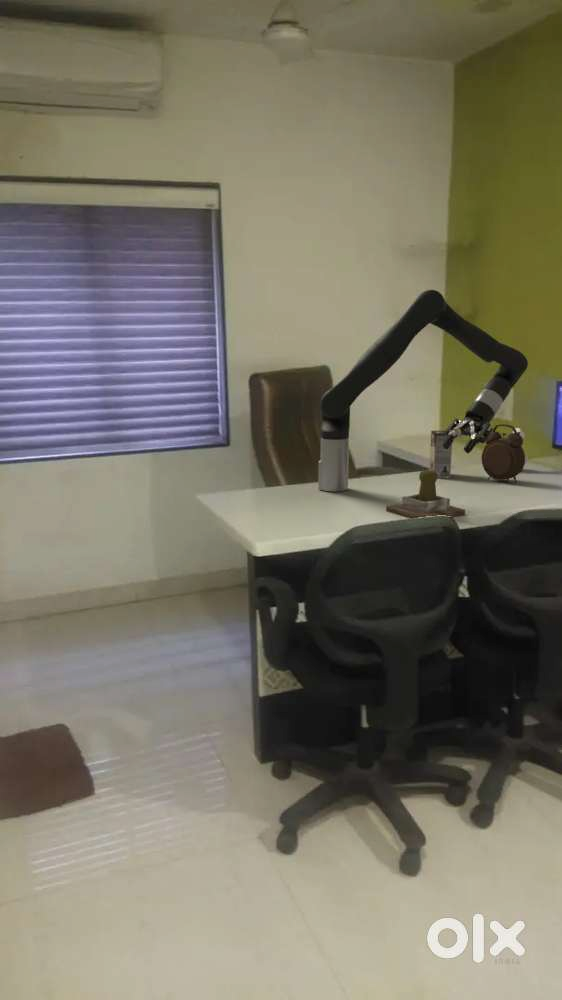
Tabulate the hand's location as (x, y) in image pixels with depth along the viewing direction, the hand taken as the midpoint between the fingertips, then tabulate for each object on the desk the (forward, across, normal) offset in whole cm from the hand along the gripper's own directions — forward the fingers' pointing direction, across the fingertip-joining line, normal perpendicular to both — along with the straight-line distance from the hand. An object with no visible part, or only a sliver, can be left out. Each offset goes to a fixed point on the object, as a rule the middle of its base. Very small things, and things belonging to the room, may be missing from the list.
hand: (455, 449), depth 224 cm
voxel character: (-32, -30, +58) cm, 73 cm away
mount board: (+20, 0, +5) cm, 21 cm away
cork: (+19, 0, +4) cm, 19 cm away
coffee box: (-11, -38, +36) cm, 54 cm away
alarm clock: (-18, -19, +44) cm, 51 cm away
